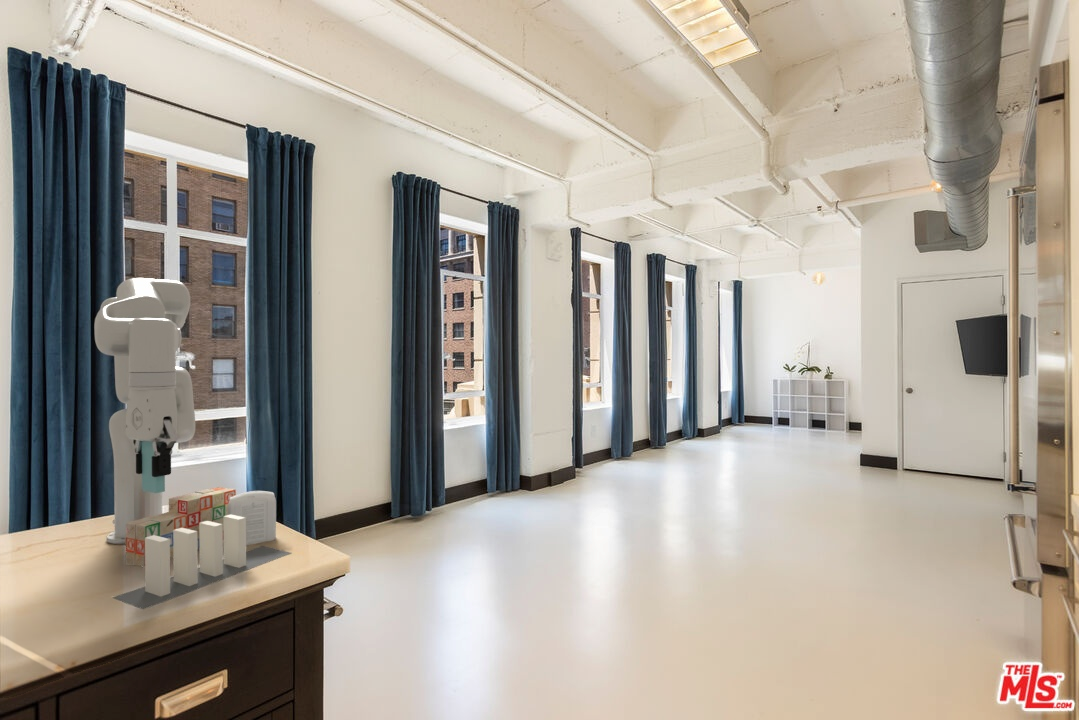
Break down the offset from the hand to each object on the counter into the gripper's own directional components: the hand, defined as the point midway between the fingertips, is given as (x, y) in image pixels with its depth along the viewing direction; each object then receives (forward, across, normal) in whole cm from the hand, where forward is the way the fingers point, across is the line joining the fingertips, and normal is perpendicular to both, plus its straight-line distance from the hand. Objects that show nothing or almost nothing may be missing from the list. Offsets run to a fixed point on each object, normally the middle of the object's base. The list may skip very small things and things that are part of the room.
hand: (153, 473), depth 107 cm
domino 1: (+4, 0, 0) cm, 4 cm away
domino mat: (+21, +7, +7) cm, 24 cm away
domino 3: (+21, +7, +2) cm, 22 cm away
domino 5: (+21, +7, +12) cm, 25 cm away
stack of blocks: (+22, -12, +12) cm, 28 cm away
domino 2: (+21, +7, -3) cm, 22 cm away
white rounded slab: (+22, -3, +23) cm, 31 cm away
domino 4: (+21, +7, +7) cm, 23 cm away
